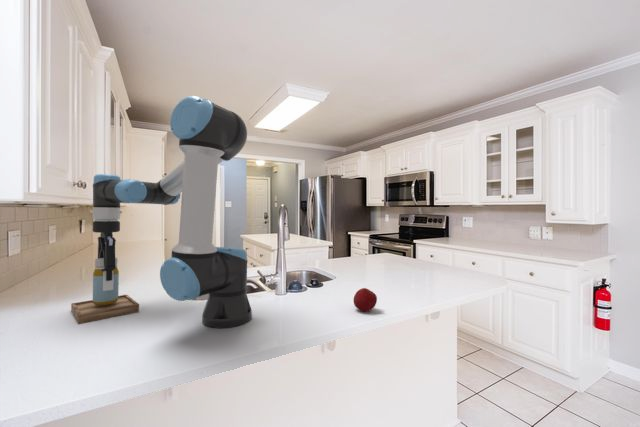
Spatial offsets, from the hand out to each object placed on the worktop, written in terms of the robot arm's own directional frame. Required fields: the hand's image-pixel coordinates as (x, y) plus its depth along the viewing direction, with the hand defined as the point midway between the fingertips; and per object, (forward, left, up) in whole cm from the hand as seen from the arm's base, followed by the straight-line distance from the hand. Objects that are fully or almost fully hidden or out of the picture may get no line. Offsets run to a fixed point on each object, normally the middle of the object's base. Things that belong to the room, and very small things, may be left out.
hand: (105, 287), depth 99 cm
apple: (-61, -65, -8) cm, 89 cm away
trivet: (0, 0, -8) cm, 8 cm away
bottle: (0, 0, -5) cm, 5 cm away
